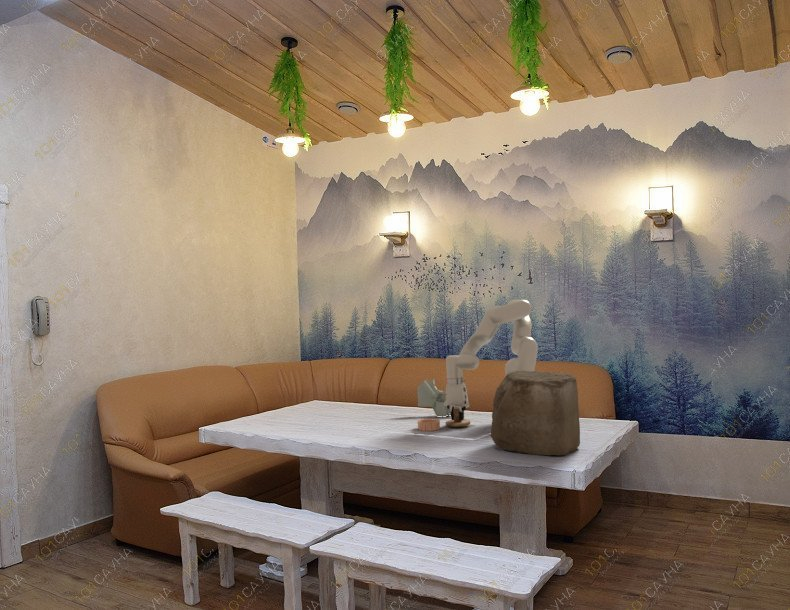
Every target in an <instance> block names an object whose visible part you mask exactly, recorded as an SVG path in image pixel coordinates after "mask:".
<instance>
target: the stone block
mask: <svg viewBox="0 0 790 610" xmlns="http://www.w3.org/2000/svg"><path fill="white" fill-rule="evenodd" d="M577 381H578V380H577V378H576V376H574V375H573V374H571V373H567V372H550V371H537V370H534V371H515V372H510V373H509V374H507V375H506V374H505V377H504V378H503V379H502V381H501V382H500V384H499V386H498V387H497V388H496V390H495V394H494V396H493V397H494V398H493V403H492V404H493V405H492V406H493V410H492V413H491V418H492V419H491V428H490V437H491V439H492V441H493V443H494V444H495V445H496V446H497V447H499V448H500V449H503V450H506V451H511V452H518V453H522V454H523V453H524V454H529V455H537V456H540V455H543V456H544V455H545V456H551V455H556V456H565V455H567V454H569V453H572V452H576V451H577V450H578V448H579V447H580V444H581V427H580V426H581V425H580V424H581V423H580V410H579V392H578V382H577Z"/></svg>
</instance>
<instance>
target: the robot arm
mask: <svg viewBox="0 0 790 610" xmlns="http://www.w3.org/2000/svg"><path fill="white" fill-rule="evenodd" d="M532 309H533V308H532V305H531V303H530V301H528V300H526V299H512V300H510V301H508V302H507V303H506V304H503V305H495V306H491V307H489V308H488V309H487V311H486V312H485V314H484V316H483V318H482V319H481V322H480V323H479V325H478V326H477V328H476V330H475V332H473V334H472V335H471V336H470V337H469V338H468V339H467V341H466V342H465V344H464V345H463V347H462V348H461V350H460V352H459V354H453V355H452V354H451V355H447V356H446V358H445V366H446V367H445V368H446V382H447V384H445V385H446V386H445V391H446V395H445V396H446V401H445V403H444V406H446V407H447V408H448V409H449V411H450V412H451V416H450V420H454V414H453V409H454V408H455V409H456V407H455V405H458V406H459V409H460V412H459V420H460V421H461V420H465V411H466V410H467V408H469V407H471V406H470V405H471V404H470V403H469V397H468V389H467V390H466V388H467V387H466V384H465V382H466V378H464V375H463V370H465V371H466V370H468V371H470V370H472V371H473V370H476V369H477V368H478V367H479V365H480V359H479V357H478V356H477V353H478V352H479V351H480V349H482V347H484V346H485V345H488V344H489V343H490V342H491V341H492V339H493V338H494V336H495V334H496V332H497V330H498V328H499V327H500V325H503V324H508V323H512V322H513V333H512V337H511V338H512V339H511V343H510V351H511V352H512V353H513V355H516V356H517V357H513V358H510V359H509V360H507V362H506V363H505V365H504V372H505V376H506V375H507V374H509V373H510V372H515V371H536V370H535V368H536V363H537V360H538V359H537V358H538V351H539V348H538V347H539V345H538V342H537V341H536V340H535V338H533V337H531V336H532V328H533V325H532V319H531V316H530V314H531V312H532ZM464 404H466V405H465V406H464Z"/></svg>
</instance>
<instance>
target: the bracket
mask: <svg viewBox="0 0 790 610" xmlns="http://www.w3.org/2000/svg"><path fill="white" fill-rule="evenodd" d="M435 384H436V383H435V379H432V380H431V381H429V379H427V378H425V380H423V381H421V383H420V384H418V386H417V387H416V389H417V406H418V407H422V408H423V407H424V408H425V407H427V408H428V407H429V408H432V409H433V411H434V414H435V416H436V415H437V416H446V415H448V416H449V415H451V412H450V411H449V409H448V408H447V407H446V406H444V403H445V401H446V390H444V391H443V390H439V389H438V388H437V386H436V385H435ZM466 390H467V391H468V388H467V387H466ZM443 395H444V396H443ZM465 405H466V404H464V406H465ZM456 408H459V406H458V405H455V408H454V409H456ZM449 417H450V416H449Z"/></svg>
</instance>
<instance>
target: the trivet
mask: <svg viewBox="0 0 790 610" xmlns="http://www.w3.org/2000/svg"><path fill="white" fill-rule="evenodd" d="M476 426H477V425H474V424H469V425H467V426H459V427H452V426H446V424H444V425H440V429H442V430H452V431H465V430H468V429H470V428H473V427H476ZM440 429H439V430H440Z"/></svg>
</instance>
